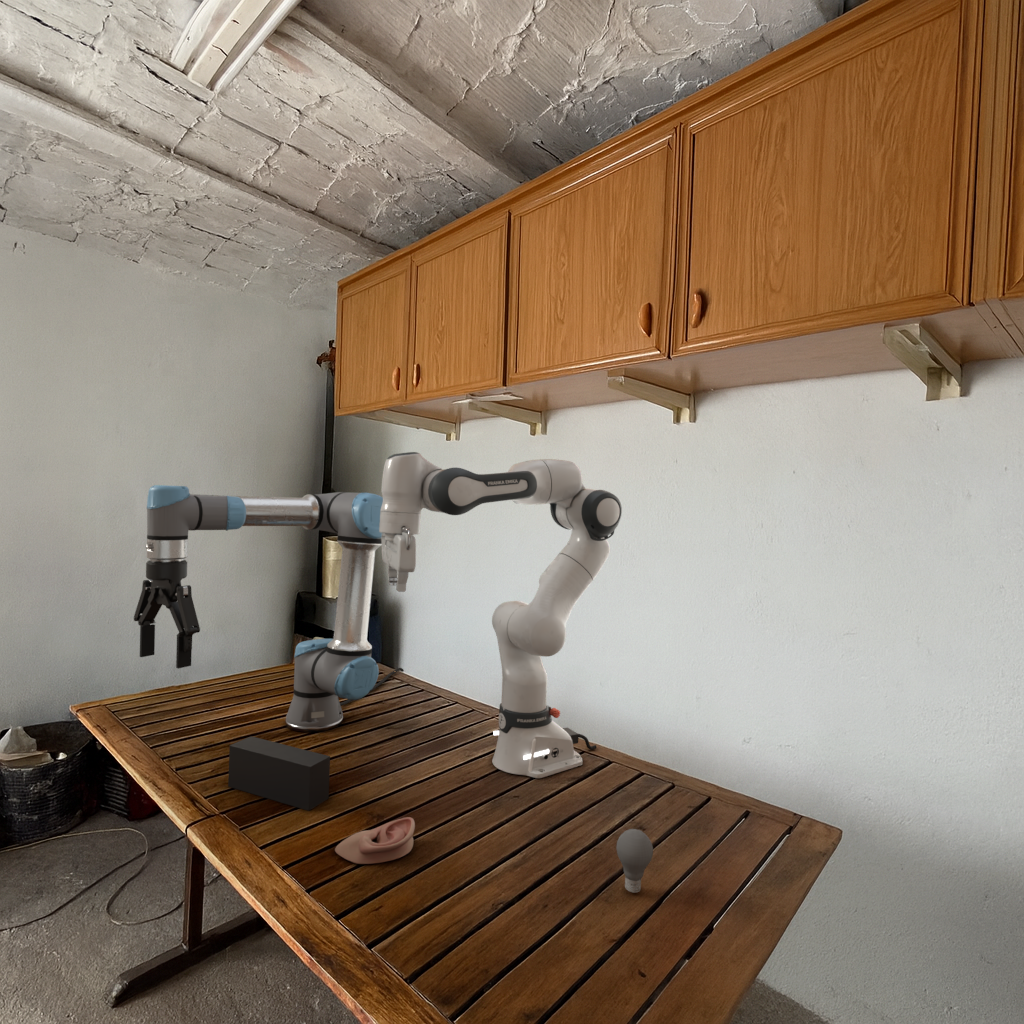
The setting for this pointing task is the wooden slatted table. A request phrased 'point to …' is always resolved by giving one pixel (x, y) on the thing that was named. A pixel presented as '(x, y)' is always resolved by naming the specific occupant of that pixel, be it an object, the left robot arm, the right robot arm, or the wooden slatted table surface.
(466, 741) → the wooden slatted table surface
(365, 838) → the anatomical model
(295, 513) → the left robot arm
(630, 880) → the light bulb
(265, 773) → the box
